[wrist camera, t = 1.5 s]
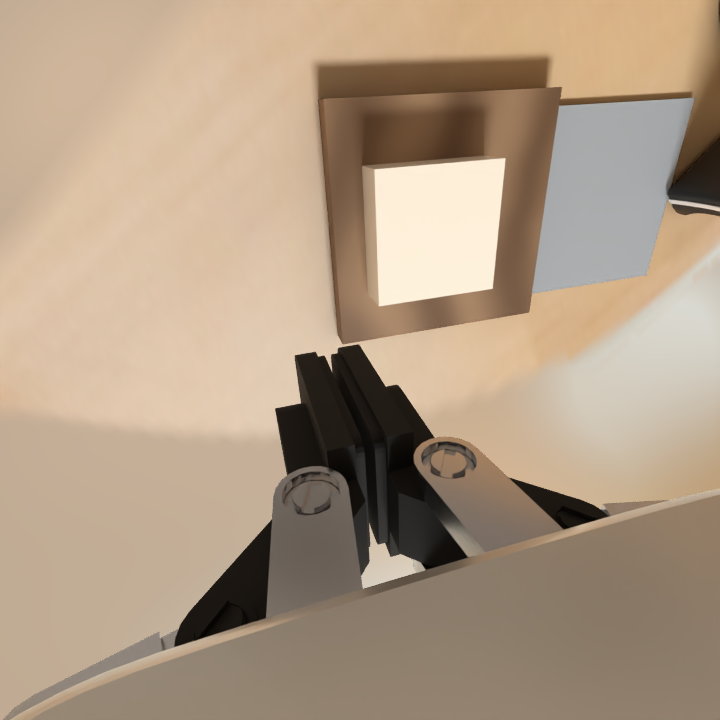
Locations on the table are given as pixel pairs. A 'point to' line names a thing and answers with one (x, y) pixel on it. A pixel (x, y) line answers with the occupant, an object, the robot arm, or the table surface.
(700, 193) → the battery charger
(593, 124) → the mat
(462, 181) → the coaster
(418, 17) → the table surface
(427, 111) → the board
